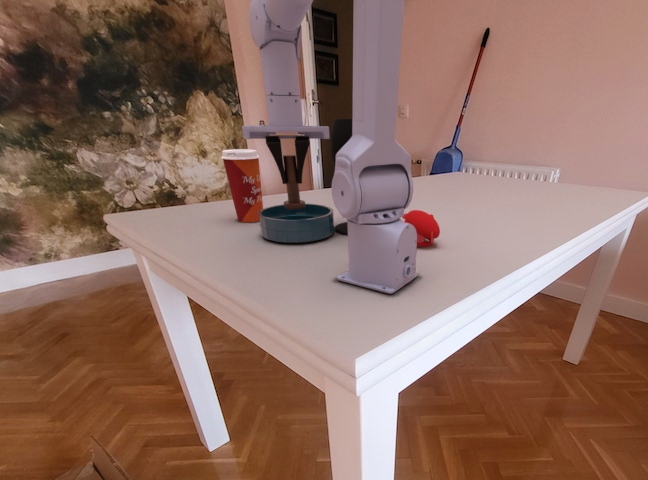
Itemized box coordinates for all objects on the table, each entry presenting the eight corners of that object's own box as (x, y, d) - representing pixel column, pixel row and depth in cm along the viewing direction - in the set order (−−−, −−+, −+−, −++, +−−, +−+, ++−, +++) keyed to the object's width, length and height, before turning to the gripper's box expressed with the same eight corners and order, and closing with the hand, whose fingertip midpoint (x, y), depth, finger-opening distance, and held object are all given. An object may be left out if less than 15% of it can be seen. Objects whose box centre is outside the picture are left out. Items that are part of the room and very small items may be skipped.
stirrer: (309, 206, 73) (305, 155, 68) (295, 210, 70) (289, 157, 65) (294, 204, 75) (288, 153, 70) (279, 207, 72) (273, 155, 67)
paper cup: (258, 224, 82) (247, 152, 74) (226, 222, 83) (211, 151, 76) (274, 216, 88) (265, 149, 81) (244, 214, 89) (233, 148, 82)
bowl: (348, 231, 78) (347, 209, 76) (301, 249, 68) (298, 224, 65) (296, 221, 84) (294, 200, 82) (246, 237, 74) (242, 213, 71)
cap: (445, 243, 72) (448, 210, 69) (430, 251, 68) (433, 217, 65) (408, 236, 76) (409, 205, 72) (392, 243, 71) (393, 211, 68)
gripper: (324, 97, 68) (329, 178, 75) (239, 95, 65) (252, 180, 72) (328, 96, 62) (333, 184, 69) (235, 94, 59) (250, 186, 66)
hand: (292, 182), depth 70 cm, fingers closed on stirrer, 2 cm apart
